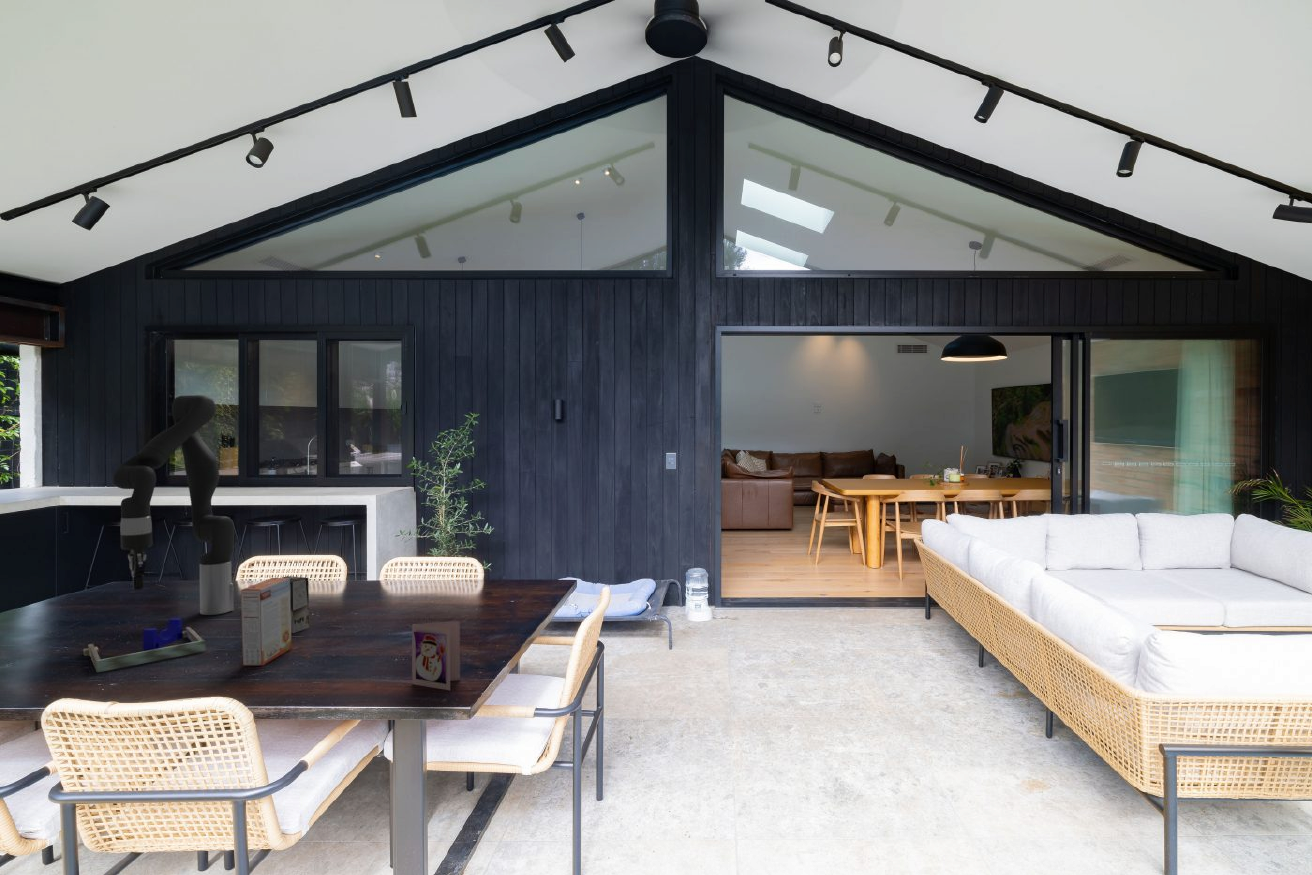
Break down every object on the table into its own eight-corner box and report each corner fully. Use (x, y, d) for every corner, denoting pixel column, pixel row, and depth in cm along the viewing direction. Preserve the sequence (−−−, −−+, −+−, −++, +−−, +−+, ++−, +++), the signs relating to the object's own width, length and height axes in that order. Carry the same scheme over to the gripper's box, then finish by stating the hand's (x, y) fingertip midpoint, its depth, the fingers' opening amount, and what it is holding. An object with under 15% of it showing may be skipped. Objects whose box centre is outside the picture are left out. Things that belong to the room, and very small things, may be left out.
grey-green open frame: (192, 633, 210) (192, 623, 210) (209, 650, 194) (209, 639, 194) (83, 653, 191) (83, 642, 191) (92, 673, 176) (91, 661, 176)
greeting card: (409, 685, 168) (409, 625, 168) (429, 674, 175) (429, 617, 175) (447, 691, 164) (447, 630, 164) (466, 680, 171) (466, 621, 170)
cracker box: (271, 649, 195) (271, 577, 195) (292, 649, 195) (291, 577, 195) (240, 666, 181) (239, 588, 181) (262, 666, 181) (261, 588, 181)
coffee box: (310, 627, 216) (309, 577, 215) (293, 633, 210) (292, 581, 209) (288, 625, 219) (287, 575, 218) (271, 630, 213) (270, 579, 212)
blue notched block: (167, 637, 206) (167, 618, 206) (182, 637, 206) (182, 618, 206) (138, 650, 194) (137, 630, 194) (153, 650, 194) (153, 630, 194)
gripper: (155, 533, 201) (157, 590, 202) (148, 527, 210) (149, 582, 211) (123, 536, 196) (125, 595, 196) (117, 530, 205) (119, 587, 206)
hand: (138, 588), depth 204 cm, fingers closed
